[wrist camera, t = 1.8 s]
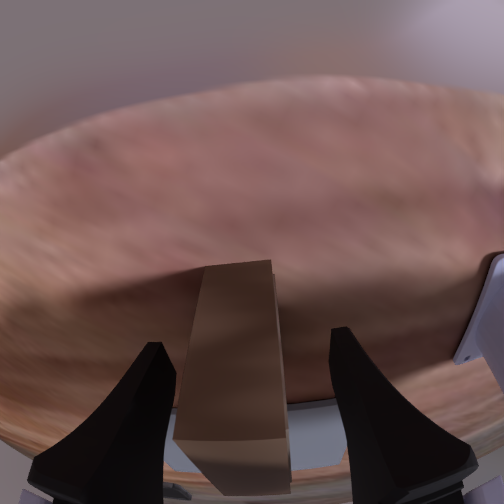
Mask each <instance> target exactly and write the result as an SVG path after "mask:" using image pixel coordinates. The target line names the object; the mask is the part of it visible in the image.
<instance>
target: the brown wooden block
mask: <svg viewBox="0 0 504 504" xmlns="http://www.w3.org/2000/svg"><path fill="white" fill-rule="evenodd" d="M172 440H173V441H174V442H175V443H176V445H177V446H178V447H179V448H180V449H181V450H182V452H183V453H184V454H185V455H186V456H187V457H188V458H189V459H190V461H191V462H192V463H193V464H194V465H195V466H196V467H197V468H198V469H199V470H200V471H201V473H202V474H203V475H204V476H205V477H206V478H207V479H208V480H209V481H210V482H211V483H212V484H213V485H214V486H215V487H216V488H217V489H218V490H219V491H220V492H221V493H222V494H223V495H224V496H262V495H280V494H291V491H290V482H292V476H291V458H290V441H289V426H288V414H287V402H286V390H285V379H284V367H283V356H282V346H281V335H280V325H279V314H278V304H277V295H276V285H275V275H274V274H272V264H271V260H261V261H251V262H242V263H232V264H222V265H212V266H205V270H204V275H203V279H202V284H201V288H200V293H199V298H198V303H197V307H196V312H195V317H194V322H193V327H192V332H191V337H190V342H189V347H188V352H187V357H186V363H185V368H184V373H183V379H182V385H181V390H180V396H179V402H178V407H177V413H176V419H175V425H174V432H173V438H172Z"/></svg>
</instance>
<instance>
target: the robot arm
mask: <svg viewBox="0 0 504 504" xmlns="http://www.w3.org/2000/svg"><path fill="white" fill-rule="evenodd" d="M480 357H484V358H485V360H486V362H487V364H488V365H489V367H490V369H491V371H492V373H493V375H494V376H495V378H496V380H497V382H498V384H499V386H500V388H501V390H502V392H503V394H504V254H500V255H497V256H496V257H495V258H494V259H493V261H492V263H491V266H490V269H489V272H488V275H487V278H486V281H485V284H484V287H483V290H482V293H481V295H480V298H479V301H478V303H477V306H476V308H475V311H474V313H473V316H472V318H471V321H470V323H469V325H468V328H467V330H466V332H465V334H464V337H463V339H462V341H461V343H460V345H459V347H458V349H457V351H456V354H455V356H454V358H453V361H454V363H455V365H460V364H463V363H466V362H469V361H472V360H474V359H477V358H480ZM329 368H330V374H331V380H332V386H333V389H334V393H335V397H336V401H337V404H338V408H339V412H340V415H341V419H342V423H343V427H344V430H345V435H346V440H347V447H348V455H349V463H350V472H351V482H352V495H353V504H504V484H503V480H502V477H501V476H500V475H499V476H497V477H495V478H493V479H492V480H490V481H488V482H486V483H484V484H482V485H480V486H479V487H477V488H475V489H473V490H471V491H469V492H468V493H466V494H465V495H464V496H462V492H461V489H462V488H464V485H463V482H462V480H463V479H464V478H466V477H467V476H469V475H470V474H471V473H473V472H474V471H475V470H476V469H477V468H478V466H479V465H478V462H477V459H476V456H475V454H474V452H473V450H472V448H471V446H470V445H469V444H467V443H465V442H463V441H461V440H460V439H458V438H456V437H455V436H453V435H451V434H450V433H448V432H447V431H445V430H444V429H442V428H441V427H439V426H438V425H437V424H435V423H434V422H433V421H431V420H430V419H429V418H428V417H426V416H425V415H424V414H422V413H421V412H420V411H419V410H418V409H417V408H415V407H414V406H413V405H412V404H411V403H410V402H409V401H408V400H407V399H406V398H405V397H404V396H402V395H401V394H400V393H399V392H398V390H397V389H396V388H395V387H394V386H393V385H392V384H391V383H390V382H389V381H388V380H387V378H386V377H385V376H384V375H383V374H382V373H381V371H380V370H379V369H378V368H377V366H376V365H375V364H374V363H373V361H372V360H371V359H370V358H369V356H368V355H367V354H366V352H365V351H364V349H363V348H362V347H361V345H360V344H359V342H358V341H357V339H356V338H355V336H354V335H353V333H352V332H351V330H350V328H348V327H340V328H333V329H331V340H330V352H329ZM175 387H176V371H175V369H174V367H173V365H172V363H171V361H170V359H169V356H168V354H167V352H166V350H165V348H164V346H163V344H162V342H148V343H147V344H146V346H145V347H144V348H143V350H142V351H141V352H140V354H139V355H138V357H137V358H136V360H135V361H134V362H133V364H132V365H131V367H130V368H129V369H128V371H127V372H126V373H125V375H124V376H123V377H122V379H121V380H120V381H119V383H118V384H117V385H116V387H115V388H114V389H113V390H112V392H111V393H110V394H109V395H108V397H107V398H106V399H105V400H104V401H103V402H102V404H101V405H100V406H99V407H98V408H97V409H96V410H95V411H94V412H93V413H92V414H91V415H90V416H89V417H88V418H87V419H86V420H85V421H84V422H83V423H82V424H81V425H79V426H78V427H77V428H76V429H75V430H74V431H73V432H71V433H70V434H69V435H68V436H66V437H65V438H64V439H62V440H61V441H60V442H58V443H57V444H55V445H54V446H52V447H51V448H49V449H47V450H46V451H44V452H42V453H41V454H39V455H37V456H35V457H34V459H33V463H32V466H31V469H30V472H29V476H28V479H27V481H28V483H29V484H31V485H32V486H34V487H35V488H37V489H39V490H41V491H43V492H44V493H46V494H48V495H50V496H51V497H53V498H54V500H53V503H52V502H50V501H48V500H46V499H44V498H42V497H40V496H38V495H36V494H34V493H31V492H29V491H27V490H25V489H22V493H21V496H20V501H19V504H163V463H164V448H165V441H166V436H167V431H168V426H169V421H170V416H171V411H172V406H173V401H174V396H175Z"/></svg>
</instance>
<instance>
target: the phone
mask: <svg viewBox="0 0 504 504" xmlns="http://www.w3.org/2000/svg"><path fill="white" fill-rule="evenodd" d="M186 492H187V491H186V490H185V489H184V488H183V487H181V486H180V485H178V484H174V483H168V482H163V497H164V498H171V499H179V500H191V497H192V495H191V494H190V493H189V492H187V494H186Z"/></svg>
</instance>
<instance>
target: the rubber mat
mask: <svg viewBox="0 0 504 504" xmlns="http://www.w3.org/2000/svg"><path fill="white" fill-rule="evenodd" d="M176 413H177V408H172V411H171V416H170V421H169V426H168V431H167V436H166V441H165V448H164V461H165V462H166V463H167V464H168V465H169V466H170V467H171V468H172V469H174V470H175V471H182V472H197V473H201V471H200V470H199V469H198V468H197V467H196V466H195V465H194V464H193V463H192V462H191V461H190V459H189V458H188V457H187V456H186V455H185V454H184V453H183V452H182V450H181V449H180V448H179V447H178V446H177V445H176V443H175V442H174V441H173V440H172V438H173V432H174V425H175V419H176ZM287 414H288V426H289V441H290V458H291V471H293V470H302V469H311V468H318V467H325V466H332V465H338V464H340V462H341V459H342V457H343V454H344V452H345V449H346V446H347V440H346V435H345V430H344V427H343V423H342V419H341V415H340V412H339V408H338V404H337V401H336V398H334V399H328V400H321V401H313V402H305V403H297V404H287Z"/></svg>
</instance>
